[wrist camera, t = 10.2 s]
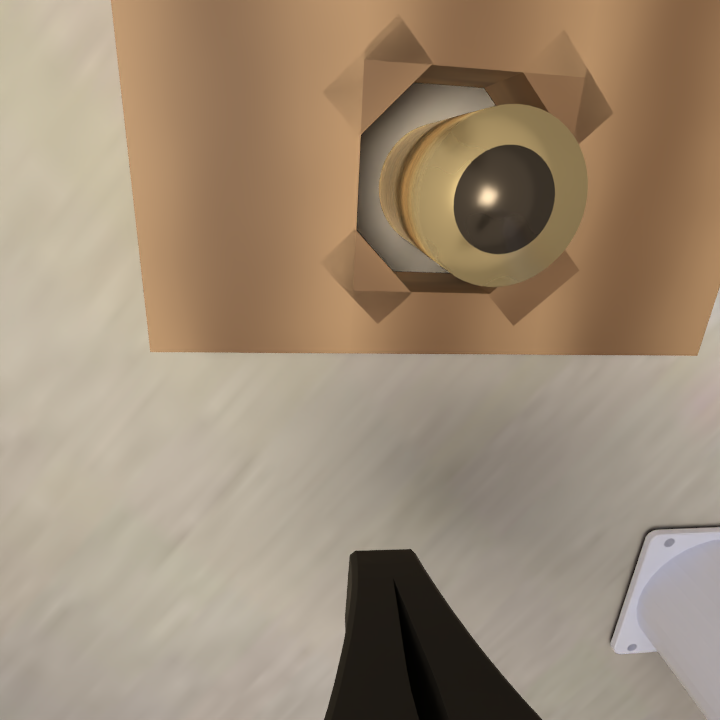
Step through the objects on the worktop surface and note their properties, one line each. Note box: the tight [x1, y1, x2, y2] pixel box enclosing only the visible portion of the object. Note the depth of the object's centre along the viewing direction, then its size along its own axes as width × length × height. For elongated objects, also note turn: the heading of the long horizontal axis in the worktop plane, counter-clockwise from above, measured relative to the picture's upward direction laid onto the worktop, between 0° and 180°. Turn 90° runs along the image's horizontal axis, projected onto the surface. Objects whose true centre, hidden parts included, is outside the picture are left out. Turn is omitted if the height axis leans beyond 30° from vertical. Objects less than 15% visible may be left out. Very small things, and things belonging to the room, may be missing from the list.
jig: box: [111, 0, 720, 356], centre depth 15 cm, size 18×14×3 cm
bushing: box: [379, 104, 588, 287], centre depth 14 cm, size 4×4×6 cm
